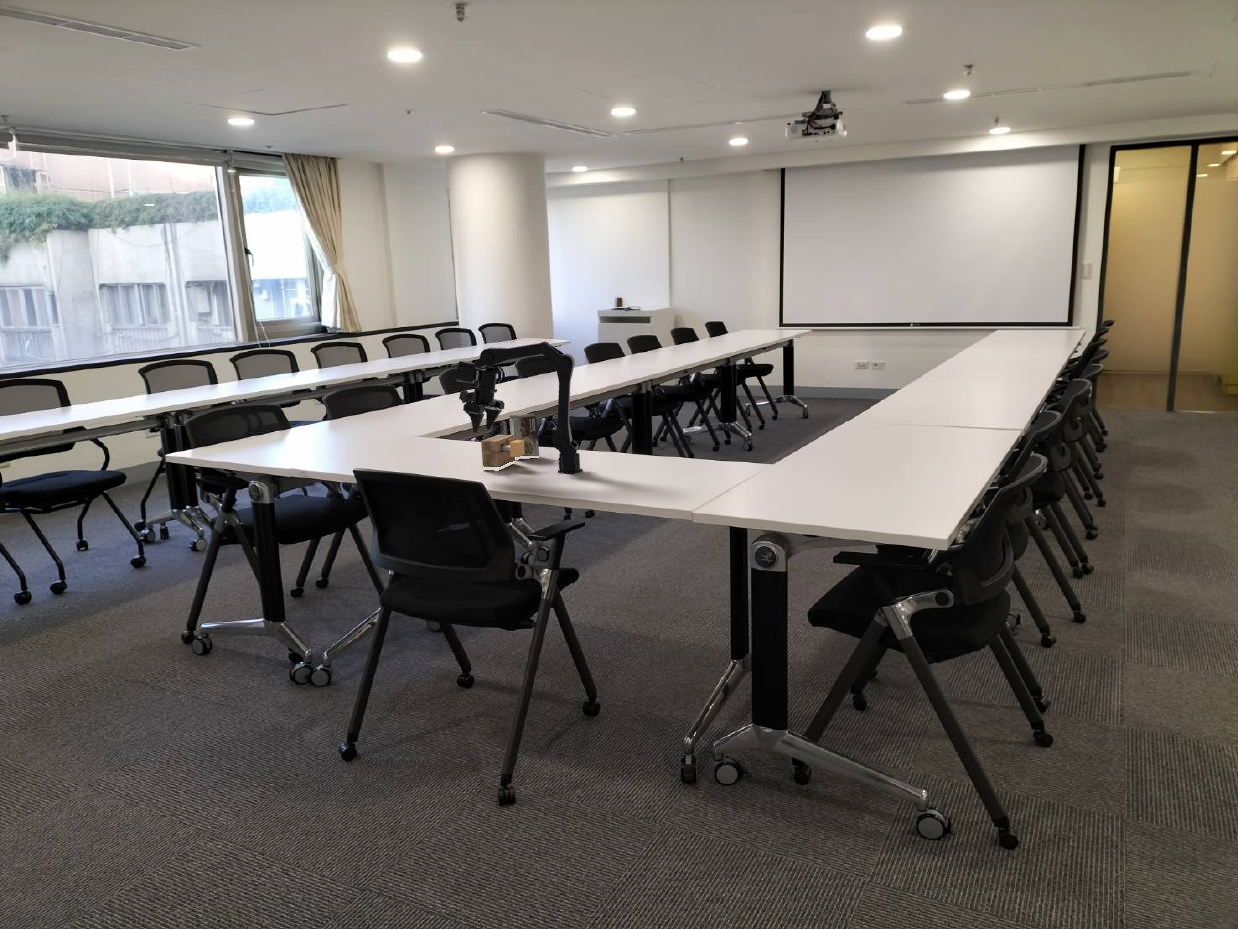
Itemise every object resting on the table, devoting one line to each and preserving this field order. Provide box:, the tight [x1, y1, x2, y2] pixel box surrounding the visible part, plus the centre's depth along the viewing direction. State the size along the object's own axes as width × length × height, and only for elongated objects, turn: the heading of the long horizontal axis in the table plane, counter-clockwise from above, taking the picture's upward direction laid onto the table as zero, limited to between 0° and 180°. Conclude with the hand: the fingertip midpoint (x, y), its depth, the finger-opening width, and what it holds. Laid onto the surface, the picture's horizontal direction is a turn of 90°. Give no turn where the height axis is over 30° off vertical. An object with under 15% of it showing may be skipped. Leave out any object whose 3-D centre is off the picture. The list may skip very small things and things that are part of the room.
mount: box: [480, 434, 516, 467], centre depth 309 cm, size 7×13×10 cm, turn 160°
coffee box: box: [509, 413, 540, 457], centre depth 324 cm, size 9×6×16 cm
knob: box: [501, 440, 525, 457], centre depth 304 cm, size 7×5×5 cm
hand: (481, 430), depth 296 cm, fingers open, 9 cm apart
